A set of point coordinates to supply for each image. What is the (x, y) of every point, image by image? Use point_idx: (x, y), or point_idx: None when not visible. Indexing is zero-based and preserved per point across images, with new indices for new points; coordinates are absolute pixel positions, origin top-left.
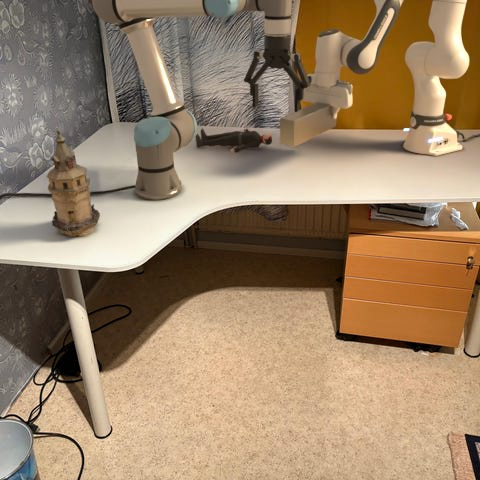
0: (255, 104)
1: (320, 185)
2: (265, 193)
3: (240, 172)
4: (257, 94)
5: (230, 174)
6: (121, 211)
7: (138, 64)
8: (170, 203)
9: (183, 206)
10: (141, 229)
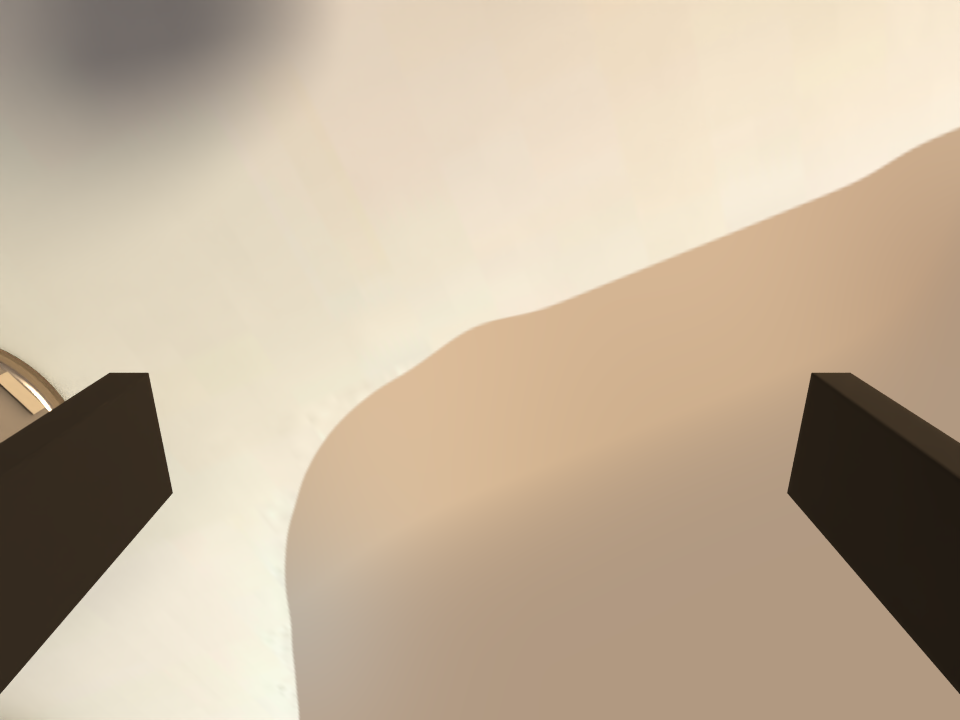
0: (150, 495)
1: (697, 36)
2: (445, 267)
3: (174, 37)
4: (36, 506)
5: (141, 96)
6: None
7: None
8: None
9: (185, 519)
10: (179, 698)
